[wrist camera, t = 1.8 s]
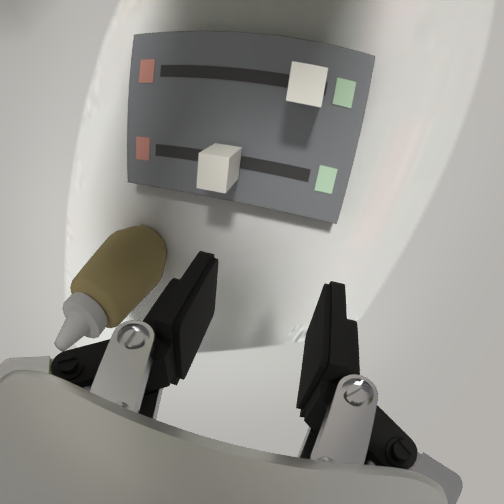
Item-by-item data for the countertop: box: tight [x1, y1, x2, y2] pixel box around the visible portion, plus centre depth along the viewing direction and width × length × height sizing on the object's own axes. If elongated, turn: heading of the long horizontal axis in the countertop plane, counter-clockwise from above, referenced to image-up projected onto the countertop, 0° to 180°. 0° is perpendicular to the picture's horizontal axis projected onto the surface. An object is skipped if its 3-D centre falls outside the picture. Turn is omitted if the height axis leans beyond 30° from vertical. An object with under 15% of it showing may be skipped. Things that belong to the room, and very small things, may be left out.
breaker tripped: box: [196, 143, 242, 193], centre depth 25 cm, size 3×2×4 cm
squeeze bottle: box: [54, 225, 167, 352], centre depth 29 cm, size 8×8×18 cm
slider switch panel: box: [127, 31, 375, 224], centre depth 25 cm, size 16×22×2 cm
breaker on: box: [286, 61, 328, 107], centre depth 20 cm, size 3×2×4 cm
